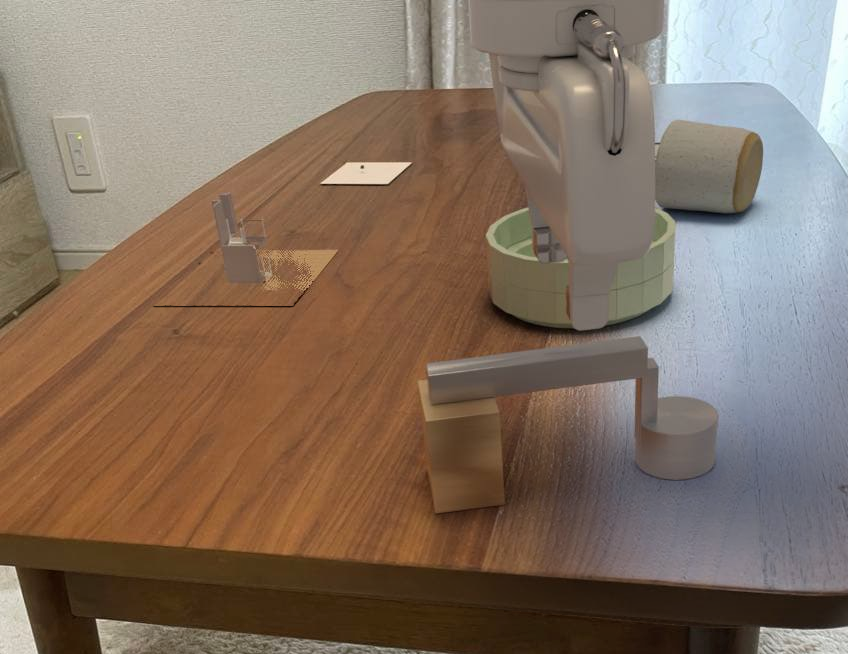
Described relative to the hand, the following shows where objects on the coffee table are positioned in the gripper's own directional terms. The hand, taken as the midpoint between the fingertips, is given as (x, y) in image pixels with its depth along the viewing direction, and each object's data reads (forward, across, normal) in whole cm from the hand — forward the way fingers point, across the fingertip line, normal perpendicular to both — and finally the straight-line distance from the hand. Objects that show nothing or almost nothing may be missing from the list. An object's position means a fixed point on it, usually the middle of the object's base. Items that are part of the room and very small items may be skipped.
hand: (567, 289), depth 56 cm
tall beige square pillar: (+11, 0, +6) cm, 13 cm away
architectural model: (+12, +43, +17) cm, 48 cm away
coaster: (+11, +68, +9) cm, 70 cm away
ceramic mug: (+11, +44, -22) cm, 51 cm away
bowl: (+11, +26, -6) cm, 29 cm away
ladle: (+11, 0, 0) cm, 11 cm away
